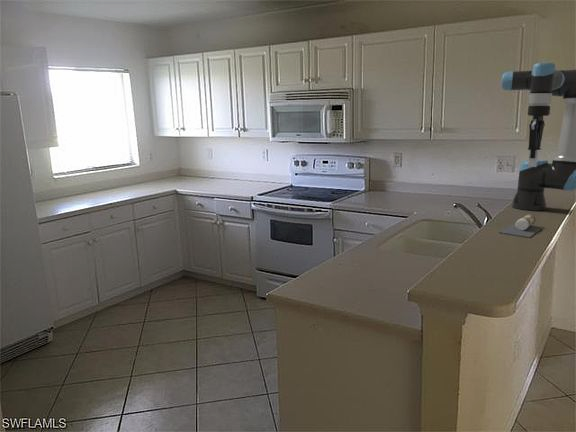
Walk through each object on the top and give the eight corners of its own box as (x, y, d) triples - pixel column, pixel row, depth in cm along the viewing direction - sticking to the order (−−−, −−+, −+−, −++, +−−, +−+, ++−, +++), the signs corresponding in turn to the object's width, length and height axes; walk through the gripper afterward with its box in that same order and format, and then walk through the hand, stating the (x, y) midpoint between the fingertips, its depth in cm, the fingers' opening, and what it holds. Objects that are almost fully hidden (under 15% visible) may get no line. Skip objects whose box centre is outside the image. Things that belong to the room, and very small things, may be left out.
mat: (514, 223, 202) (514, 222, 202) (542, 228, 195) (542, 227, 195) (499, 233, 188) (499, 232, 187) (529, 238, 181) (529, 237, 180)
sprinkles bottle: (528, 212, 199) (519, 217, 189) (538, 218, 197) (530, 223, 187) (521, 221, 201) (512, 226, 191) (532, 227, 199) (523, 233, 189)
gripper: (533, 105, 191) (526, 164, 197) (524, 105, 181) (517, 167, 187) (554, 105, 186) (546, 165, 192) (546, 105, 177) (538, 169, 182)
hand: (532, 166), depth 189 cm, fingers closed
